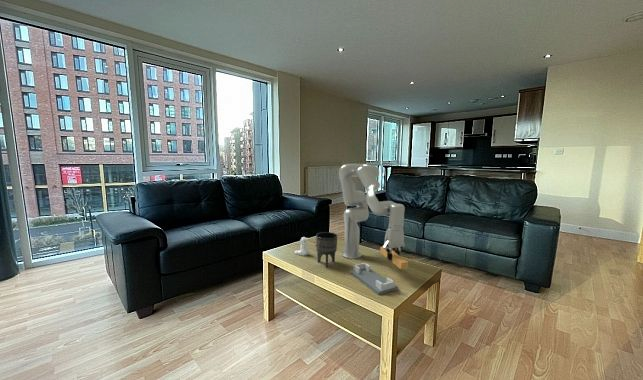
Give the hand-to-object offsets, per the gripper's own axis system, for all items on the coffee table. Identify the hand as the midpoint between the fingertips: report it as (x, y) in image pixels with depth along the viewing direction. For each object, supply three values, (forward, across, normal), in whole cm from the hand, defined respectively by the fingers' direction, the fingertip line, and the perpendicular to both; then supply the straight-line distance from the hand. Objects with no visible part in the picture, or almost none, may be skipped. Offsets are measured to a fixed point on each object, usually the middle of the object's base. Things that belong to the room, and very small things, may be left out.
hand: (393, 258), depth 141 cm
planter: (+11, +27, -28) cm, 40 cm away
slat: (+1, 0, 0) cm, 1 cm away
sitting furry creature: (+11, +34, -48) cm, 60 cm away
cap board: (+9, +15, +2) cm, 18 cm away
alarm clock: (+12, +14, -58) cm, 60 cm away
